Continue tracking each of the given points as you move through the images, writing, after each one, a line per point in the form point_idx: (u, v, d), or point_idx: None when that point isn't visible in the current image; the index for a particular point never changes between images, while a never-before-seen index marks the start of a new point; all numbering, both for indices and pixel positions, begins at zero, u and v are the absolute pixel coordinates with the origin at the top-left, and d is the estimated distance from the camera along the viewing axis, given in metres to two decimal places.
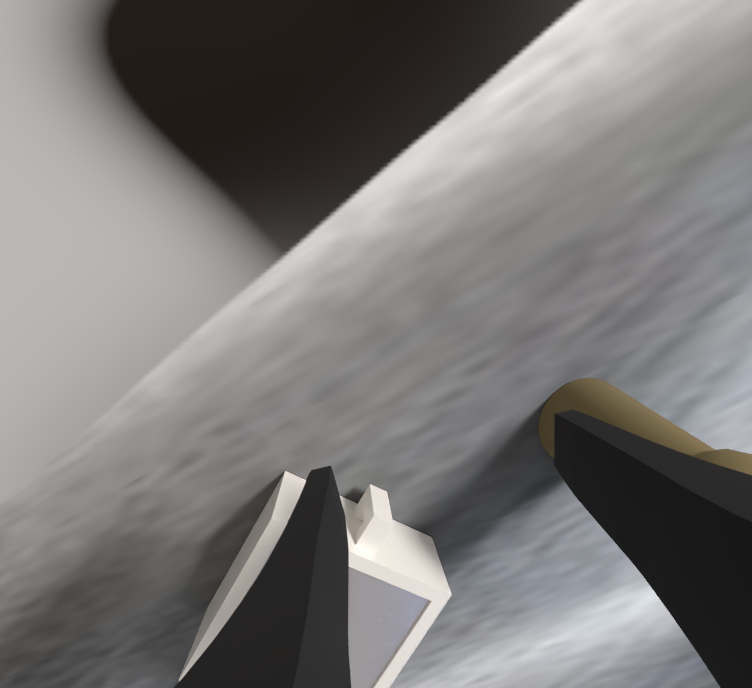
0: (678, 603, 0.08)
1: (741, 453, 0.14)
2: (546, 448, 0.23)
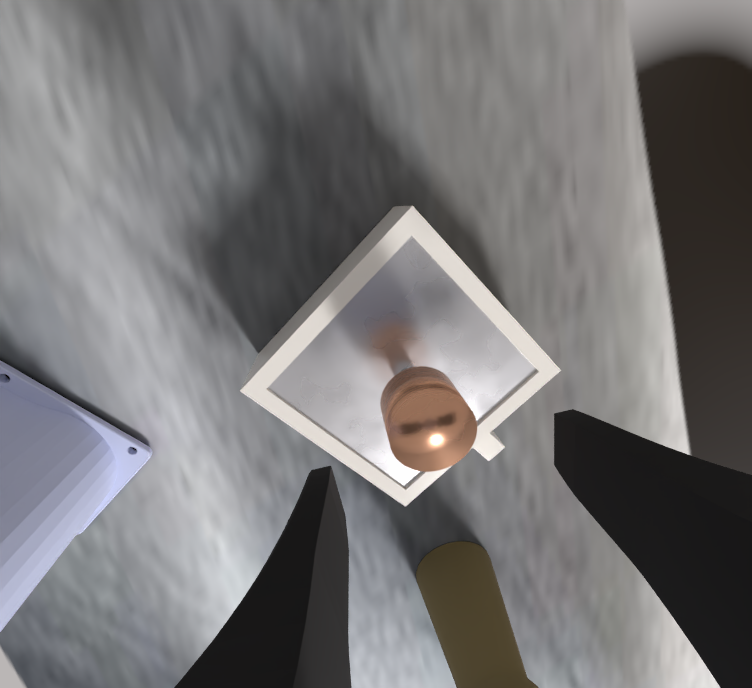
0: (678, 603, 0.08)
1: None
2: (447, 548, 0.27)
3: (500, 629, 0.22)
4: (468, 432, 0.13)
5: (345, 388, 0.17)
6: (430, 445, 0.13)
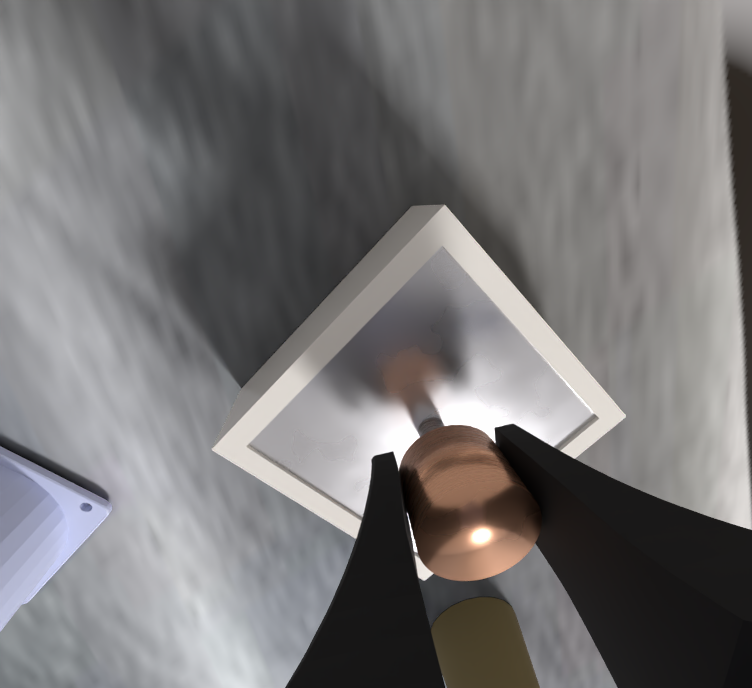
0: (595, 625, 0.08)
1: None
2: (467, 606, 0.23)
3: None
4: (529, 528, 0.09)
5: (351, 443, 0.13)
6: (474, 548, 0.09)
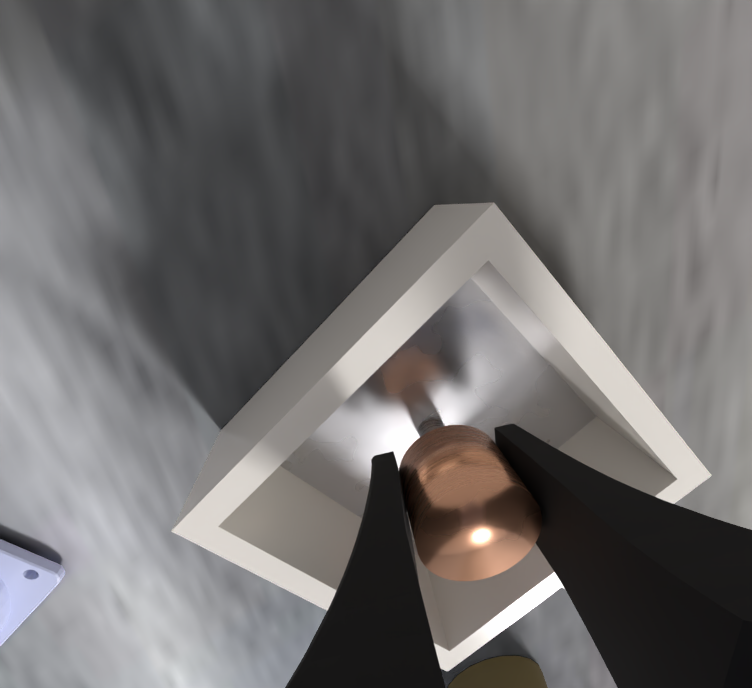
0: (595, 625, 0.08)
1: None
2: (488, 668, 0.20)
3: None
4: (529, 529, 0.09)
5: (350, 443, 0.13)
6: (474, 548, 0.09)
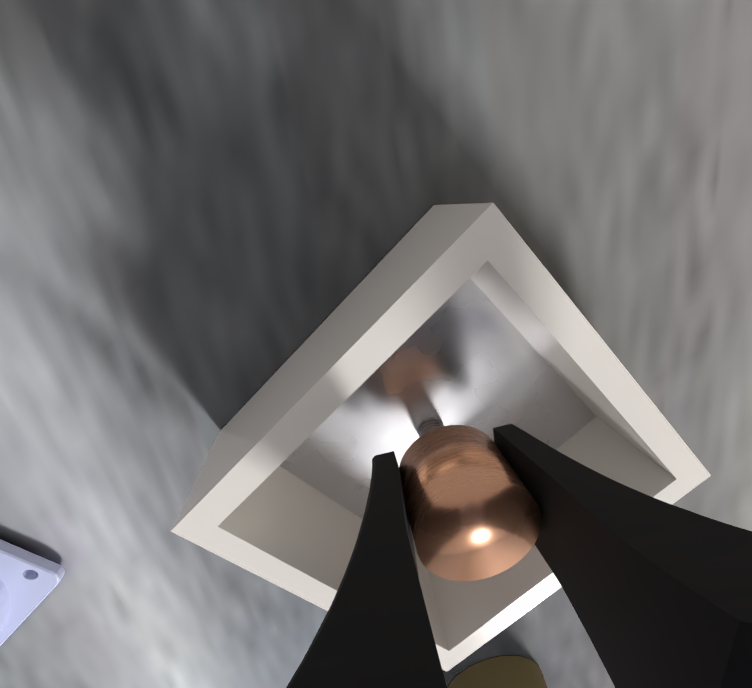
0: (593, 625, 0.08)
1: None
2: (488, 668, 0.20)
3: None
4: (529, 529, 0.09)
5: (350, 443, 0.13)
6: (474, 548, 0.09)
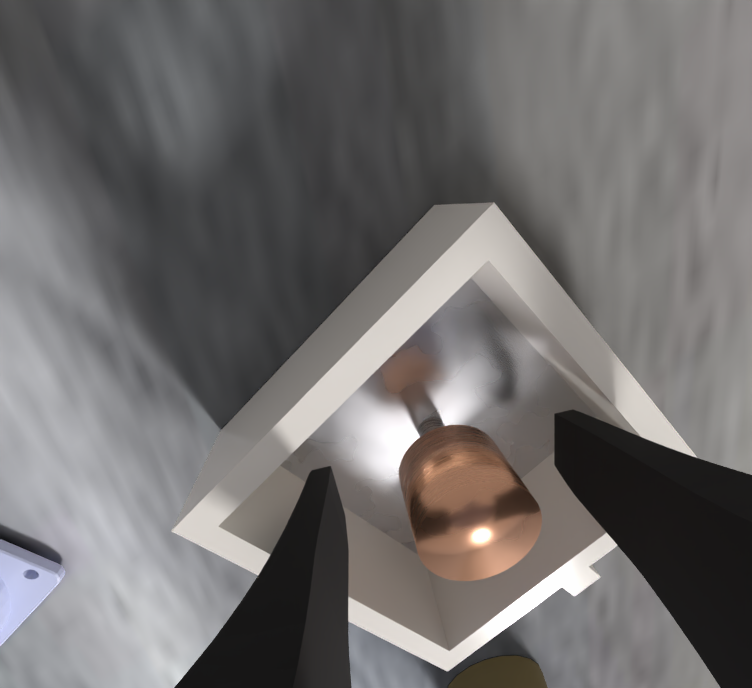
0: (678, 603, 0.08)
1: None
2: (488, 668, 0.20)
3: None
4: (529, 529, 0.09)
5: (350, 443, 0.13)
6: (474, 548, 0.09)
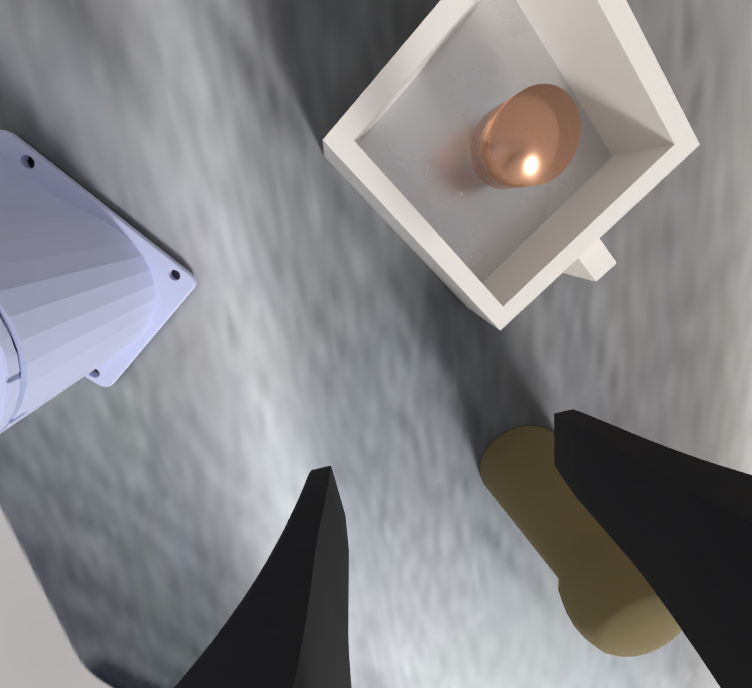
0: (678, 603, 0.08)
1: None
2: (518, 431, 0.24)
3: None
4: (571, 137, 0.13)
5: (425, 161, 0.17)
6: (533, 150, 0.13)
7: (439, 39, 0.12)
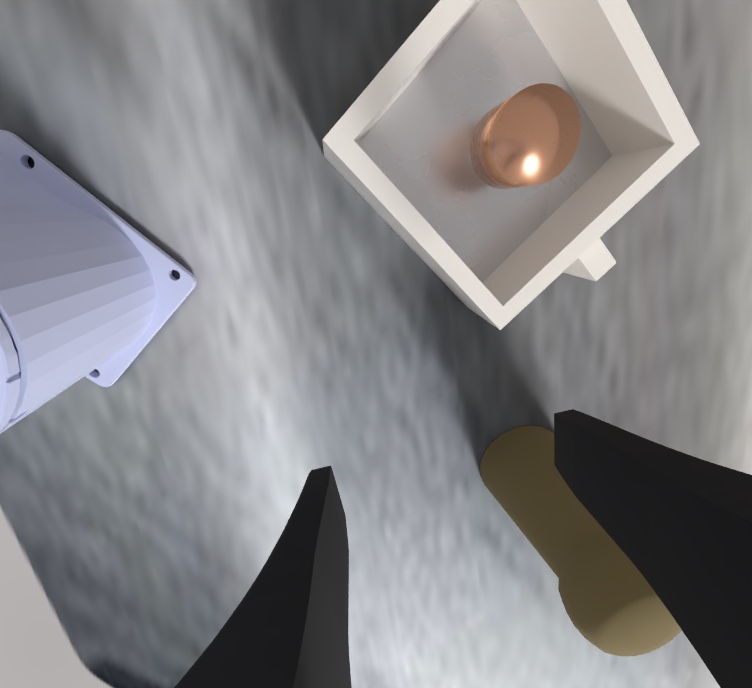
0: (678, 603, 0.08)
1: None
2: (518, 431, 0.24)
3: None
4: (571, 137, 0.13)
5: (425, 161, 0.17)
6: (533, 150, 0.13)
7: (439, 39, 0.12)
